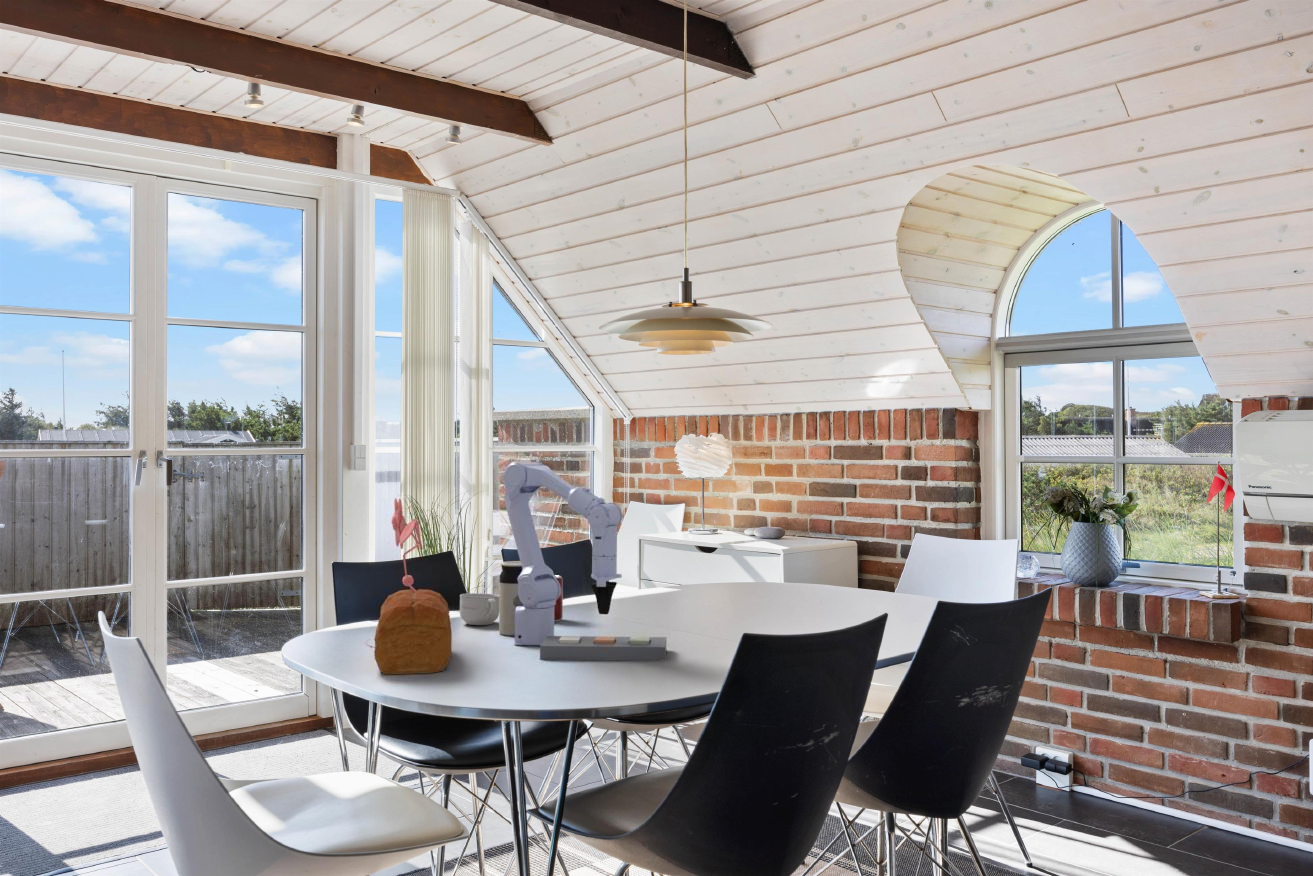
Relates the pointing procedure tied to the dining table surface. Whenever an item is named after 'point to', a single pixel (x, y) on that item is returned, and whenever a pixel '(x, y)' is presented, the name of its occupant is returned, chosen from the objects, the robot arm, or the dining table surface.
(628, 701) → the dining table surface
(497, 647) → the dining table surface
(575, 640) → the cream button
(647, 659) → the button panel
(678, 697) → the dining table surface
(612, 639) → the rust button
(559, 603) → the soda can
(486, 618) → the teacup
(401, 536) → the figurine
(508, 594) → the travel mug
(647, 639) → the sage button
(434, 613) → the bread
